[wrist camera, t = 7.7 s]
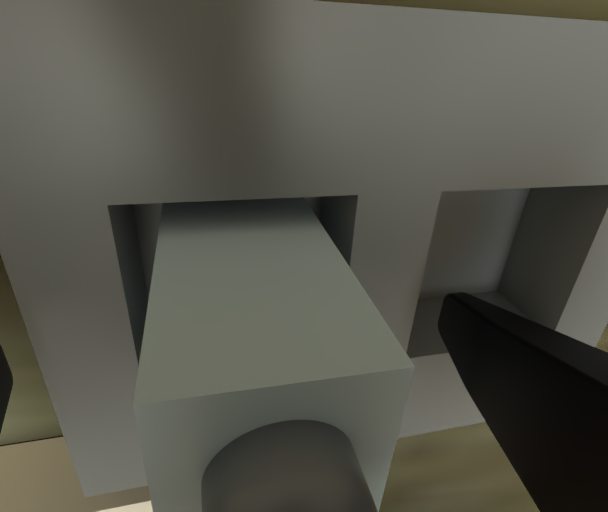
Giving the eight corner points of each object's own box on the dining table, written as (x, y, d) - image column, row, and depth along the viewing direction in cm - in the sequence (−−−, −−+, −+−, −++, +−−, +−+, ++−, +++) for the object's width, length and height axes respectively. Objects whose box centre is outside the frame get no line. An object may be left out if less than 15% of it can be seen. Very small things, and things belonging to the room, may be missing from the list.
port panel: (503, 343, 18) (571, 413, 15) (106, 399, 14) (82, 508, 11) (616, 29, 12) (768, 31, 9) (1, -11, 9) (-112, -32, 5)
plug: (291, 293, 13) (408, 601, 6) (176, 303, 12) (159, 670, 5) (297, 188, 11) (466, 445, 4) (164, 191, 11) (117, 512, 4)
